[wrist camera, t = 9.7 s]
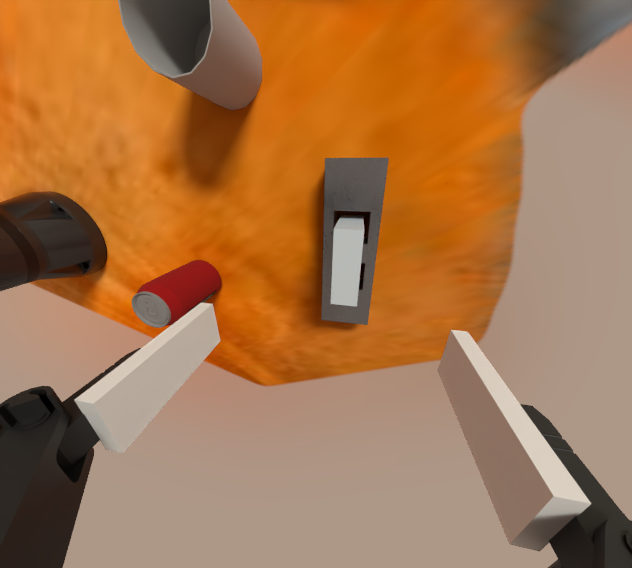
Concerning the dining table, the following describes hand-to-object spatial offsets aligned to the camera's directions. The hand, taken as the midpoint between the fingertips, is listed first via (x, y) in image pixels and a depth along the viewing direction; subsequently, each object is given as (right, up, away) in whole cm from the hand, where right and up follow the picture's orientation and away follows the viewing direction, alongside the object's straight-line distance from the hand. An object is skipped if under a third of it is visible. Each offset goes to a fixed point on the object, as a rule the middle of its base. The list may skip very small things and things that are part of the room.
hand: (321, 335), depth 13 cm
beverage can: (-20, +4, +28) cm, 35 cm away
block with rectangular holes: (+5, +9, +21) cm, 23 cm away
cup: (-11, +29, +15) cm, 34 cm away
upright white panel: (+5, +9, +21) cm, 23 cm away
